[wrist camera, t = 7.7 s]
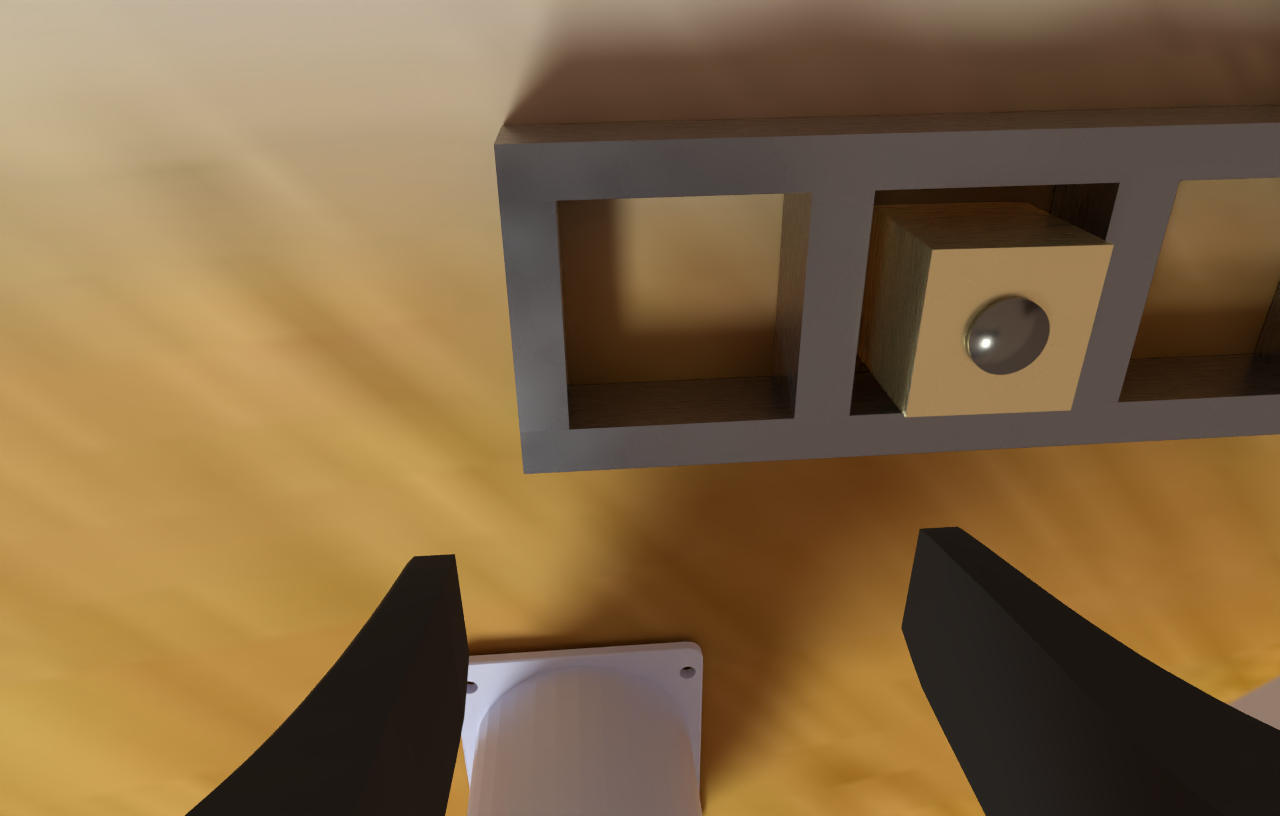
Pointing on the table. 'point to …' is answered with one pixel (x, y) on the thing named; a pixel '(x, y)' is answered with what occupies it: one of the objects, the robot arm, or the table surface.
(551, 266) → the grey flat rectangular frame
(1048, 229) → the drawer with knob
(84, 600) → the table surface
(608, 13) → the table surface
